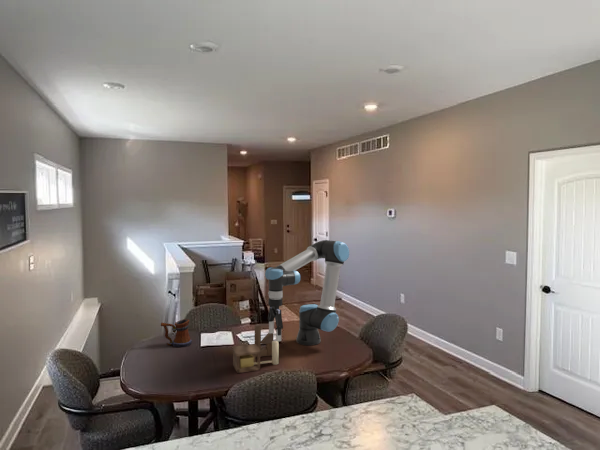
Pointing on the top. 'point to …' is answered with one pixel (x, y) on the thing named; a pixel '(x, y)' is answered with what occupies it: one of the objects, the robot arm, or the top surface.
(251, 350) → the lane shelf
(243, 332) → the top surface
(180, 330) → the mug
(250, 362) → the block
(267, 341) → the wooden block
